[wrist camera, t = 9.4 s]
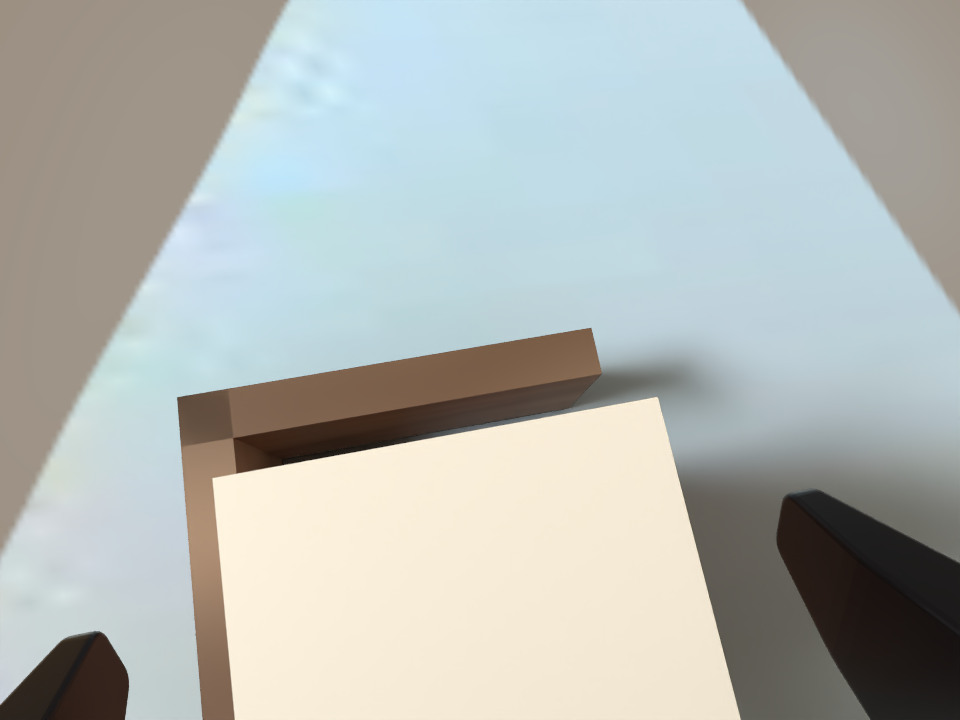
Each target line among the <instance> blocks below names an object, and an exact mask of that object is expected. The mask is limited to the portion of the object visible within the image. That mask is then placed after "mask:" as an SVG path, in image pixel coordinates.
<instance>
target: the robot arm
mask: <svg viewBox="0 0 960 720" xmlns="http://www.w3.org/2000/svg"><path fill="white" fill-rule="evenodd" d="M776 539H777V546H778V550H779V552H780V555H781V557H782V559H783V561H784V563H785V565H786V567H787V569H788V571H789V573H790V575H791V577H792V579H793V581H794V583H795V585H796V587H797V589H798V591H799V593H800V595H801V597H802V599H803V601H804V603H805V605H806V607H807V609H808V611H809V613H810V615H811V617H812V619H813V621H814V623H815V625H816V628H817V630H818V632H819V634H820V636H821V638H822V640H823V641H824V643H825V645H826V647H827V649H828V651H829V653H830V655H831V657H832V658H833V660H834V662H835V663H836V665H837V667H838V668H839V670H840V672H841V673H842V675H843V677H844V678H845V680H846V681H847V683H848V685H849V686H850V688H851V689H852V691H853V692H854V694H855V696H856V697H857V699H858V700H859V702H860V704H861V705H862V707H863V708H864V710H865V712H866V713H867V715H868V716H869V718H870V720H960V563H959V562H957V561H955V560H953V559H951V558H949V557H947V556H945V555H943V554H941V553H940V552H938V551H936V550H934V549H932V548H930V547H928V546H926V545H924V544H922V543H920V542H918V541H916V540H915V539H913V538H911V537H909V536H907V535H905V534H903V533H901V532H899V531H897V530H895V529H893V528H892V527H890V526H888V525H886V524H884V523H882V522H880V521H878V520H876V519H874V518H872V517H870V516H868V515H867V514H865V513H863V512H861V511H859V510H857V509H855V508H853V507H851V506H849V505H847V504H845V503H844V502H842V501H840V500H838V499H836V498H834V497H832V496H830V495H828V494H826V493H824V492H822V491H820V490H817V489H807V490H802V491H797V492H792V493H788V494H787V495H786V496H785V497H784V498H783V501H782V506H781V512H780V517H779V523H778V529H777V536H776ZM128 691H129V679H128V674H127V670H126V668H125V666H124V665H123V663H122V661H121V660H120V658H119V656H118V655H117V653H116V651H115V650H114V648H113V647H112V645H111V643H110V642H109V640H108V638H107V637H106V636H105V634H103V633H101V632H99V631H93V632H88V633H83V634H78V635H73V636H69V637H67V638H65V639H63V640H62V641H61V642H60V643H59V644H57V645H56V647H55V648H54V649H53V650H52V651H51V652H50V653H49V654H48V655H47V656H46V657H45V658H44V659H43V660H42V661H41V662H40V663H39V664H38V666H37V667H36V668H35V669H34V670H33V671H32V672H31V673H30V674H29V675H28V676H27V677H26V678H25V679H24V680H23V681H22V682H21V684H20V685H19V686H18V687H17V688H16V689H15V690H14V691H13V692H12V693H11V694H10V695H9V696H8V697H7V698H6V699H5V700H4V702H3V703H2V704H1V705H0V720H125V715H126V707H127V699H128Z"/></svg>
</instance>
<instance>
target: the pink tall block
mask: <svg viewBox="0 0 960 720" xmlns="http://www.w3.org/2000/svg"><path fill="white" fill-rule="evenodd" d="M212 479H213V490H214V501H215V512H216V522H217V533H218V544H219V555H220V565H221V576H222V587H223V598H224V608H225V619H226V630H227V641H228V651H229V662H230V673H231V684H232V694H233V705H234V716H235V720H741V719H740V715H739V711H738V707H737V703H736V699H735V696H734V692H733V688H732V684H731V680H730V676H729V672H728V668H727V664H726V661H725V657H724V653H723V649H722V645H721V641H720V637H719V633H718V629H717V626H716V622H715V618H714V614H713V610H712V606H711V602H710V598H709V594H708V591H707V587H706V583H705V579H704V575H703V571H702V567H701V563H700V559H699V556H698V552H697V548H696V544H695V540H694V536H693V532H692V528H691V524H690V521H689V517H688V513H687V509H686V505H685V501H684V497H683V493H682V489H681V486H680V482H679V478H678V474H677V470H676V466H675V462H674V458H673V454H672V451H671V447H670V443H669V439H668V435H667V431H666V427H665V423H664V419H663V416H662V412H661V408H660V404H659V400H658V397H655V398H649V399H644V400H638V401H633V402H627V403H622V404H616V405H611V406H605V407H600V408H594V409H589V410H583V411H578V412H573V413H567V414H562V415H556V416H551V417H545V418H540V419H534V420H529V421H523V422H518V423H512V424H507V425H501V426H496V427H490V428H485V429H479V430H474V431H468V432H463V433H458V434H452V435H447V436H441V437H436V438H430V439H425V440H419V441H414V442H408V443H403V444H397V445H392V446H386V447H381V448H375V449H370V450H364V451H359V452H353V453H348V454H342V455H337V456H332V457H326V458H321V459H315V460H310V461H304V462H299V463H293V464H288V465H282V466H277V467H271V468H266V469H260V470H255V471H249V472H244V473H238V474H233V475H227V476H222V477H216V478H212Z"/></svg>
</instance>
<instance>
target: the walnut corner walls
mask: <svg viewBox="0 0 960 720" xmlns="http://www.w3.org/2000/svg"><path fill="white" fill-rule="evenodd" d="M601 374H602V372H601V368H600V363H599V359H598V355H597V351H596V346H595V342H594V338H593V333H592V329H591V328H587V329H581V330H575V331H569V332H563V333H557V334H551V335H546V336H540V337H534V338H528V339H522V340H516V341H510V342H504V343H498V344H492V345H486V346H480V347H474V348H468V349H462V350H456V351H450V352H444V353H438V354H432V355H427V356H421V357H415V358H409V359H403V360H397V361H391V362H385V363H379V364H373V365H367V366H361V367H355V368H349V369H343V370H337V371H331V372H325V373H319V374H313V375H308V376H302V377H296V378H290V379H284V380H278V381H272V382H266V383H260V384H254V385H248V386H242V387H236V388H230V389H224V390H218V391H212V392H206V393H200V394H194V395H188V396H183V397H177V401H178V414H179V427H180V439H181V452H182V465H183V477H184V490H185V502H186V515H187V528H188V540H189V553H190V566H191V578H192V591H193V604H194V616H195V629H196V641H197V654H198V667H199V679H200V692H201V705H202V717H203V720H235V716H234V705H233V694H232V684H231V673H230V662H229V651H228V641H227V630H226V619H225V608H224V598H223V587H222V576H221V565H220V555H219V544H218V533H217V522H216V512H215V501H214V490H213V479H212V478H216V477H222V476H227V475H233V474H238V473H244V472H249V471H255V470H260V469H266V468H271V467H277V466H282V465H283V462H282V459H287V458H292V457H298V456H304V455H309V454H315V453H320V452H326V451H332V450H337V449H343V448H349V447H354V446H360V445H365V444H371V443H377V442H382V441H388V440H393V439H399V438H405V437H410V436H416V435H422V434H427V433H433V432H438V431H444V430H450V429H455V428H461V427H467V426H472V425H478V424H483V423H489V422H495V421H500V420H506V419H511V418H517V417H523V416H528V415H534V414H540V413H545V412H551V411H556V410H562V409H568V408H570V407H571V406H572V405H573V403H574V402H575V401H576V400H577V399H578V398H579V397H580V396H581V395H582V394H583V393H584V392H585V391H586V390H587V389H588V388H589V387H590V386H591V385H592V384H593V382H594V381H595V380H596V379H597V378H598V377H599V376H600V375H601Z"/></svg>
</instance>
